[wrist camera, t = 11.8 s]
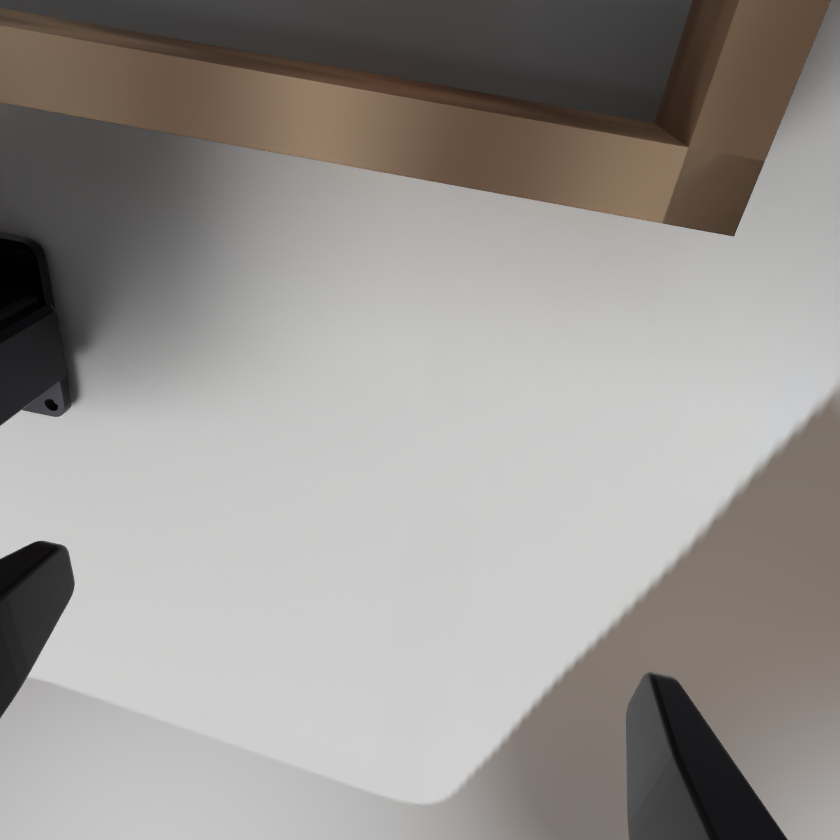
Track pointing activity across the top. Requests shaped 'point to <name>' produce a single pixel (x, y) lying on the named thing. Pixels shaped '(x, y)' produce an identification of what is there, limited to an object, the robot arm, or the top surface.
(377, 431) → the top surface
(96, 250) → the top surface
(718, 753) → the robot arm
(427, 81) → the mat
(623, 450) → the top surface
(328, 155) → the corner walls
